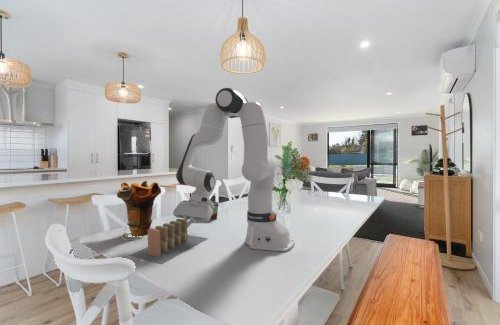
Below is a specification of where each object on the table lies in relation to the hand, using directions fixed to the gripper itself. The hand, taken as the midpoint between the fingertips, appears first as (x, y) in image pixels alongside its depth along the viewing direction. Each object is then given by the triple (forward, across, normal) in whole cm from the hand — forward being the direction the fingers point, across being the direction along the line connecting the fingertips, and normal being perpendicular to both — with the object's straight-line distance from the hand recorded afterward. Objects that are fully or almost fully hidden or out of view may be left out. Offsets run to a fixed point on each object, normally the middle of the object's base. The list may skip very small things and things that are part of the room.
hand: (185, 226), depth 113 cm
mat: (+11, 0, -1) cm, 11 cm away
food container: (-22, -13, +32) cm, 41 cm away
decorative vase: (+6, -28, +4) cm, 29 cm away
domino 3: (+12, 0, -3) cm, 12 cm away
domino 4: (+9, 0, 0) cm, 9 cm away
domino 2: (+14, 0, -6) cm, 16 cm away
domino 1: (+17, 0, -9) cm, 19 cm away
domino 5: (+6, 0, +3) cm, 6 cm away
